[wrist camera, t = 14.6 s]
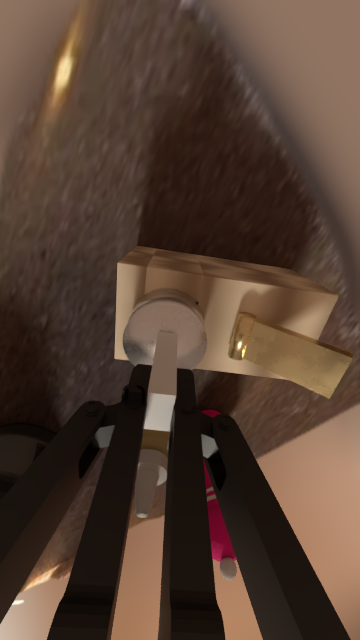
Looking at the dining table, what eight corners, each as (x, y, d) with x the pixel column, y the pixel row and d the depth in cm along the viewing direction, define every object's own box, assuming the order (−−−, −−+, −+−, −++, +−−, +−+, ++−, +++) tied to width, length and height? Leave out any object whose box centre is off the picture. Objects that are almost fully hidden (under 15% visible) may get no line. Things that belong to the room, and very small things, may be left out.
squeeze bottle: (148, 358, 36) (122, 480, 20) (191, 379, 38) (200, 507, 22) (125, 391, 39) (87, 521, 23) (167, 410, 41) (158, 542, 25)
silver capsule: (141, 314, 31) (121, 372, 20) (145, 263, 28) (124, 299, 17) (192, 321, 31) (199, 381, 20) (201, 271, 28) (214, 311, 17)
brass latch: (231, 349, 24) (224, 355, 23) (242, 310, 22) (236, 314, 21) (329, 393, 20) (328, 404, 18) (353, 350, 18) (354, 359, 16)
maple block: (132, 317, 33) (114, 358, 24) (137, 245, 29) (117, 262, 20) (267, 335, 34) (298, 380, 25) (291, 269, 30) (338, 295, 21)
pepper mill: (193, 404, 40) (204, 562, 22) (233, 409, 41) (275, 568, 23) (185, 432, 43) (188, 590, 25) (222, 437, 44) (251, 595, 26)
